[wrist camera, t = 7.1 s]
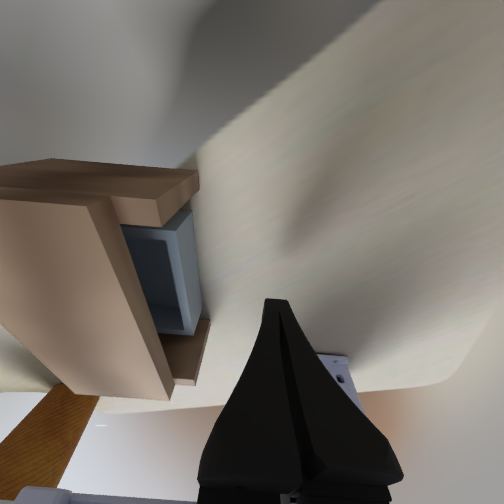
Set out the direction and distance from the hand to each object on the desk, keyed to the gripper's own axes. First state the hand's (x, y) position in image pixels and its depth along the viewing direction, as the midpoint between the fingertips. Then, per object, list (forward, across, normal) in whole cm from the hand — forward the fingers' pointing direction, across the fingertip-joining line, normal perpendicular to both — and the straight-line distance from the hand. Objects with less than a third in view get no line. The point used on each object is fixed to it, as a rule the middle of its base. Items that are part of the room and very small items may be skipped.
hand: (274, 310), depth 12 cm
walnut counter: (+3, +9, 0) cm, 10 cm away
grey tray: (+3, +8, 0) cm, 9 cm away
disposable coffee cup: (+4, +26, +26) cm, 37 cm away
